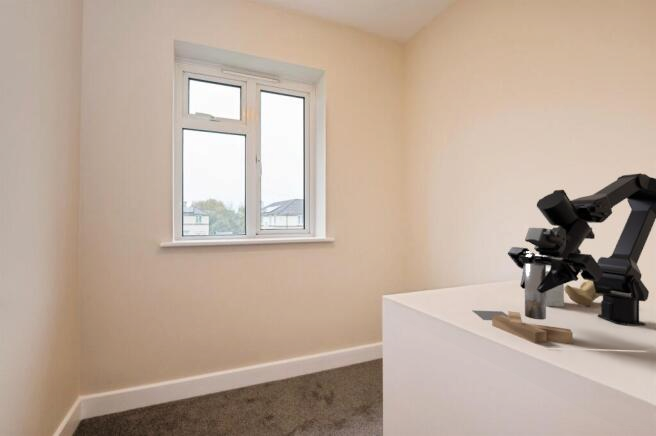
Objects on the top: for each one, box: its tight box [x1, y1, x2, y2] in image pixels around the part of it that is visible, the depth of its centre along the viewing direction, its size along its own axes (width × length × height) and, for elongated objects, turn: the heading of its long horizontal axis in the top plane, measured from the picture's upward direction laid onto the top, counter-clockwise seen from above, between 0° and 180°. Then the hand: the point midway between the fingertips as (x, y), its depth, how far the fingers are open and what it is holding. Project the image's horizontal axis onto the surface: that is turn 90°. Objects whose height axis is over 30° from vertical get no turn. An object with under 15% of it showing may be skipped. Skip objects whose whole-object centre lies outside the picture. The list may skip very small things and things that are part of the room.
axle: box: [524, 263, 547, 321], centre depth 70 cm, size 4×4×12 cm
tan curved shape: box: [564, 280, 604, 307], centre depth 95 cm, size 8×7×12 cm
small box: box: [546, 267, 565, 308], centre depth 95 cm, size 8×6×10 cm
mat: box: [471, 309, 508, 321], centre depth 81 cm, size 8×8×1 cm
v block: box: [491, 310, 574, 345], centre depth 69 cm, size 9×15×2 cm, turn 17°
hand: (530, 289), depth 69 cm, fingers closed on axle, 4 cm apart
